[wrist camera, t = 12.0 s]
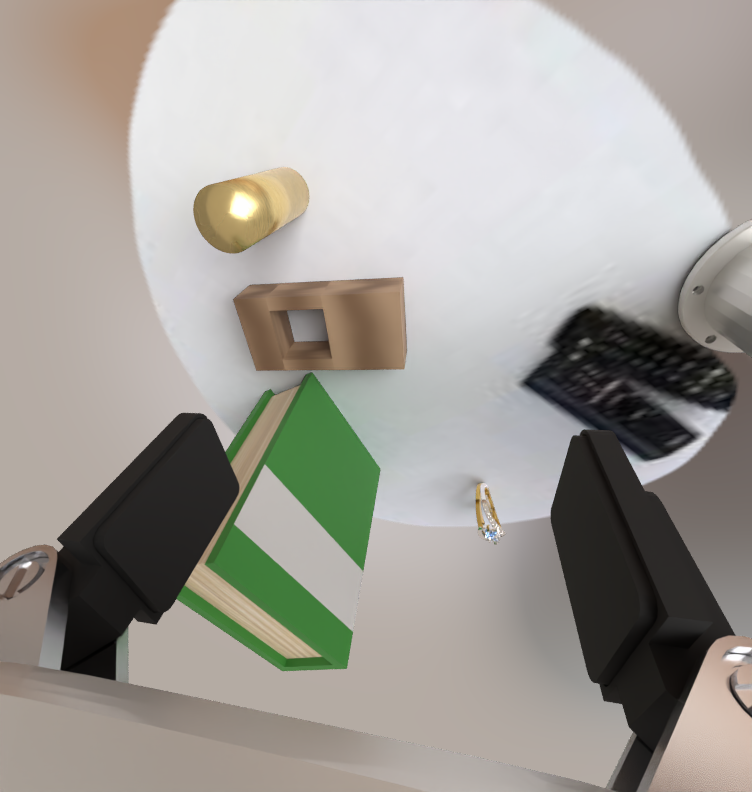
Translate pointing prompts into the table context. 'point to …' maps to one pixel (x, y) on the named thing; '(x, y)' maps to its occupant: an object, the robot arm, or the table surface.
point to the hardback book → (291, 533)
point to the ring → (495, 530)
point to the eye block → (327, 324)
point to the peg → (249, 208)
